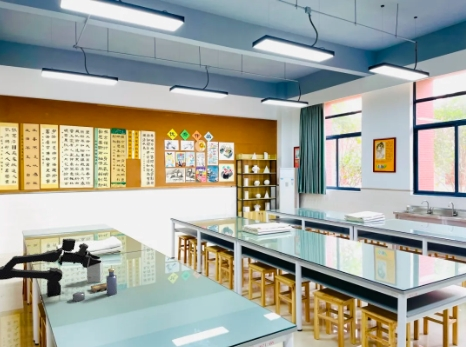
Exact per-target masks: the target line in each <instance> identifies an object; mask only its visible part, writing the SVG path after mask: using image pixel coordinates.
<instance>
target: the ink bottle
mask: <svg viewBox="0 0 466 347" xmlns="http://www.w3.org/2000/svg"><path fill="white" fill-rule="evenodd" d="M107 271H108V275H106V282H105V283H107V288H106V296H110V297H111V296H115V295H117V294H118V287H117V286H118V283H117V275H116V274H115V272H114V271H115V268H108V269H107Z"/></svg>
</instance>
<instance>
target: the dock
mask: <svg viewBox="0 0 466 347" xmlns="http://www.w3.org/2000/svg"><path fill="white" fill-rule="evenodd" d="M105 289H107V283H106V282H105V283H99V284H93V285H90V290H91V291H92V292H93V293H95V294H96V293H98V291H100V292H104V291H105Z"/></svg>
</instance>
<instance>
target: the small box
mask: <svg viewBox="0 0 466 347" xmlns="http://www.w3.org/2000/svg"><path fill="white" fill-rule="evenodd" d="M97 260H101V263H98V264H95V265H92V266H90V267H87V268H86V280H87V281H86V282H87V283H101V282H102V281H103V280H104V267H103V266H104V264H103V258H100V259H97Z"/></svg>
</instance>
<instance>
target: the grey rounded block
mask: <svg viewBox="0 0 466 347" xmlns="http://www.w3.org/2000/svg"><path fill="white" fill-rule="evenodd" d="M85 297H86V294H85V292H83V291H77V292H74V293H73V294H72V302H76V303H77V302H82V301H85V300H86V298H85Z"/></svg>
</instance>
